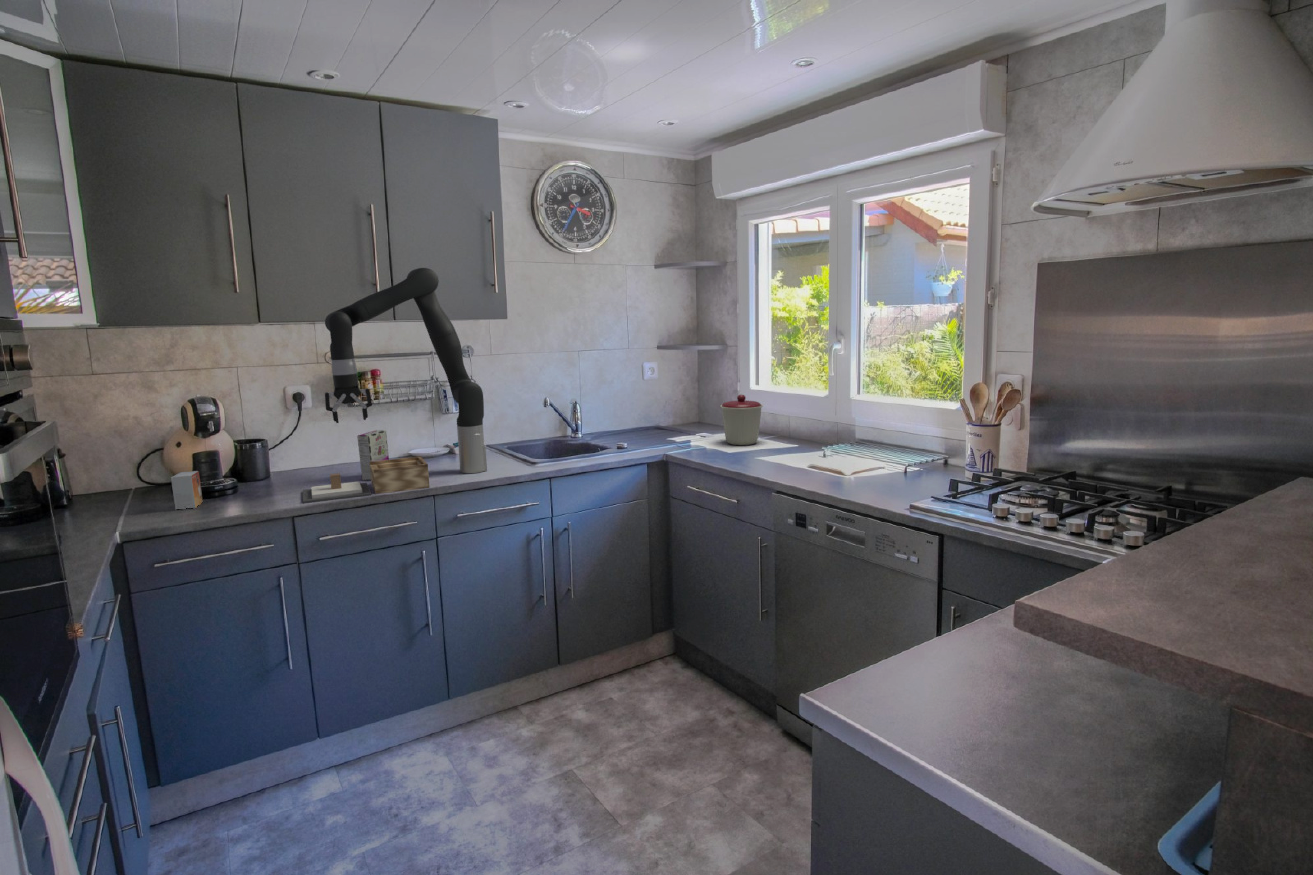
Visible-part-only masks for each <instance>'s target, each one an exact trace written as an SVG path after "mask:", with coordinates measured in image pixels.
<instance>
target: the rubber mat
mask: <svg viewBox="0 0 1313 875" xmlns="http://www.w3.org/2000/svg"><path fill="white" fill-rule="evenodd" d="M359 483H360V485H361V488H362V493H357V494H348V495H340V496H331V497H323V498H314V499H312V489H311V488H309V489H302V504H309V503H318V502H324V501H326V502H327V501H334V500H333V499H335V500H342V499H350V498H351V499H352V498H358V497H367V496H372V492H371V490H370V488H369V485H368V483H367V482H359Z"/></svg>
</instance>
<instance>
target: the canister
mask: <svg viewBox="0 0 1313 875" xmlns="http://www.w3.org/2000/svg"><path fill="white" fill-rule="evenodd" d="M736 398H737V399H736V400H730V401H725V402H723V403H722V404H720V406H719V407H720V408H721V413H722V414H721V415H722V422H723V430H724V431H723V432H724V437H725V441H726V442H727V443H728V444H729V445H733V446H751V445H754V444H756V443H757V441H758V440H759V435H760V434H759V432H760V425H761V414H762V408H763V407H764V405H763V404H761V403H760V402H758V401H756V400H755V401H754V400H746V395H744V394H738V395H737V397H736Z"/></svg>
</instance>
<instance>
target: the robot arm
mask: <svg viewBox="0 0 1313 875" xmlns="http://www.w3.org/2000/svg"><path fill="white" fill-rule="evenodd" d="M438 286H439V277H438V275H437V273H436V272H435V271H434V270H433V269H430V268H428V267H418V268H415V269H413V270H411V271H409V273H408V274H407V276H406V278H404V280H402V281H400V282H399V283H396V284H394V285H392V286H390V287H389V286H388V287H387V288H384V289H381V290H379V291H376V292H374V293H371V294H370V295H367V296H365V297H363V298H360V299H359V300H357V301H355V302H353V303H352V304H350V305H347V306H345V307H342V308H339V309H337V310H335V311H332V312H331V313H329V314H328V315H327V316H326V318H325V320H324V325H325V328H326V329H327V331H329V333H330V334H329V335H330V341H331V342H330V344H329V352H330V360H331V373H332V380H333V389H334V390H333V392H332V391H331V392H329V391H328V392H327V391H325V392H324V401H325V402H324V403H325V410H326V411H327V412H328V411H329V412H332V419H333V421H334V423H336V424H339V422H340V421H339V417H338V416H339V415H338V411H337V410H338V409H339V407H340V405H341V404H343V405H347V404H354V403H357V404H358V405H359V406H361V407H362V408H361V411H362V418H363V419H362V420H363V421H366V420H367V418H368V414H369V413H368V408H369V407H370V408H371V407H373V403H372V402H373V400H372V395H371V392H370V388H368V387H367V388H364V389H360V386H359V379H358V378H359V377H358V369H357V365H356V359H355V353H354V348H353V347H354V346H353V327H355V326H356V325H359V324H361V323H365V322H367V321H371V320H373V319H374V318H376V317H378V316H380V315H383V313H385V312H388V311H389V310H391V309H393V308H395V307H397V306H398V305H401V304H403V303H405V302H407V301H409V300H412V299H413V301H414V302H415V304H416V306H417V308H418V310H419V312H420V314H421V318H422V320H423V323H424V326H425V329H426V331H427V335H428V336H429V339H430V341H431V344H432V346H433V349H434V351H435V353H436V355H437V358H438V360H439V362H440V364H441V367H442V368H443V370H444V373H445V376H446V378H447V381H448V385H449V389H450V392H451V396H452V398H453V400H454V401H455V402H456V403H457V404H458V416H457V418H456V430H457V443H458V445H457V446H458V457H459V458H458V460H459V471H460V473H463V474H478V473H483V472H487V471H488V463H487V461H488V460H487V449H486V448H487V445H485V440H484V439H485V438H484V437H485V436H484V423H483V422H484V420H483V419H484V416H485V411H484V410H485V405H484V392H483V389H482V387H481V386H480V384H479V383H476V382H474V381H472V380H471V378H470V376H469V374H468V372H467V370H466V367H465V364H464V358H463V350H462V345H461V341H460V338H459V335H458V334H457V331H456V328H455V327H454V326H455V325H453V323H452V321H451V319H450V318H449V317H448V316H447V315H446V313H445V311H444V310H443V309H442V307H441V305H440V303H439V300H438V297H437V295H436V292H435V291H436V290H437V288H438ZM361 394H362V395H363V396H365V397H366V403H364V402H363V401H362V400H361V399H360V398H359V397H360V396H361ZM333 396H334V397H335V398H336V399H337V400H336V401H335V403H334V405H333V406H332V407H331V404H330V400H331V399H333Z"/></svg>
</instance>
